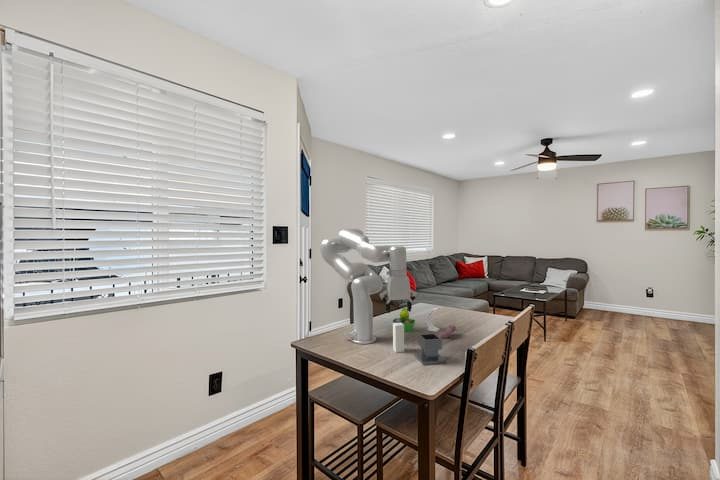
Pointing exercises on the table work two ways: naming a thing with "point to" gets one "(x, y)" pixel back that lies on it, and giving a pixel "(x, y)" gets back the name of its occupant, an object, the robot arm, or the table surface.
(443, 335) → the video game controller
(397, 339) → the rail post
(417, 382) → the table surface
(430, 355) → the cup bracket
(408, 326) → the fruit basket
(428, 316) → the headphone stand
